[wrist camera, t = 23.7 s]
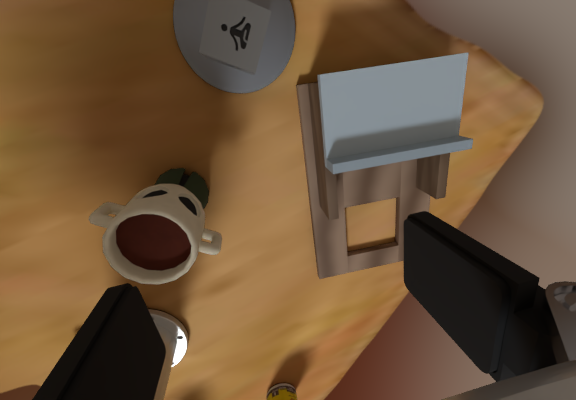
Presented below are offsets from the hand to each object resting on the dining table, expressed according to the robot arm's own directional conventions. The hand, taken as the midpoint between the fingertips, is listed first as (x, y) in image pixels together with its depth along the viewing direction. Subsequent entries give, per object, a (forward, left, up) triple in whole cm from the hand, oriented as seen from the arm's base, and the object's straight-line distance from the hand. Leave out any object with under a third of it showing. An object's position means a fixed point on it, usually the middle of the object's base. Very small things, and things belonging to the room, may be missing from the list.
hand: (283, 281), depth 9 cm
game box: (+14, -8, -25) cm, 30 cm away
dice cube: (0, +11, -25) cm, 27 cm away
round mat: (0, +12, -25) cm, 28 cm away
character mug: (-10, -4, -25) cm, 28 cm away
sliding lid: (+14, +2, -20) cm, 24 cm away
